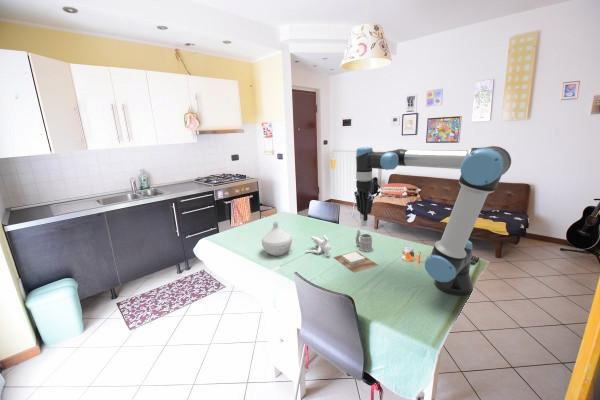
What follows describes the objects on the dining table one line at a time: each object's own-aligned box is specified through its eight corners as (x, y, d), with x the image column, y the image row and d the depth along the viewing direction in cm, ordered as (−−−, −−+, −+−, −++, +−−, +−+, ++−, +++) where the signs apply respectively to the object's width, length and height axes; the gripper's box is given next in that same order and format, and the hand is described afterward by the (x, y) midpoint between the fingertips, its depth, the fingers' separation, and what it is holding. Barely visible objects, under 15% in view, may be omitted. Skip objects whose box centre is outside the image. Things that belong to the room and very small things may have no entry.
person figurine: (302, 235, 167) (328, 235, 156) (314, 233, 177) (339, 233, 166) (303, 257, 166) (329, 259, 156) (315, 253, 176) (340, 255, 166)
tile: (365, 258, 151) (355, 251, 159) (351, 262, 147) (341, 255, 155) (365, 261, 151) (355, 254, 159) (351, 265, 148) (341, 258, 156)
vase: (298, 250, 171) (297, 221, 166) (276, 262, 158) (274, 230, 153) (278, 243, 183) (276, 215, 178) (256, 253, 170) (253, 223, 165)
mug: (366, 255, 161) (366, 235, 158) (351, 248, 170) (351, 230, 167) (375, 251, 165) (375, 232, 162) (360, 245, 174) (360, 227, 171)
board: (378, 267, 147) (378, 265, 146) (353, 275, 140) (353, 272, 140) (356, 252, 164) (356, 251, 164) (332, 259, 158) (332, 257, 158)
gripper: (379, 180, 130) (378, 228, 136) (362, 177, 141) (361, 221, 147) (366, 182, 127) (366, 231, 133) (349, 178, 138) (350, 223, 144)
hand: (363, 225), depth 140 cm, fingers closed
